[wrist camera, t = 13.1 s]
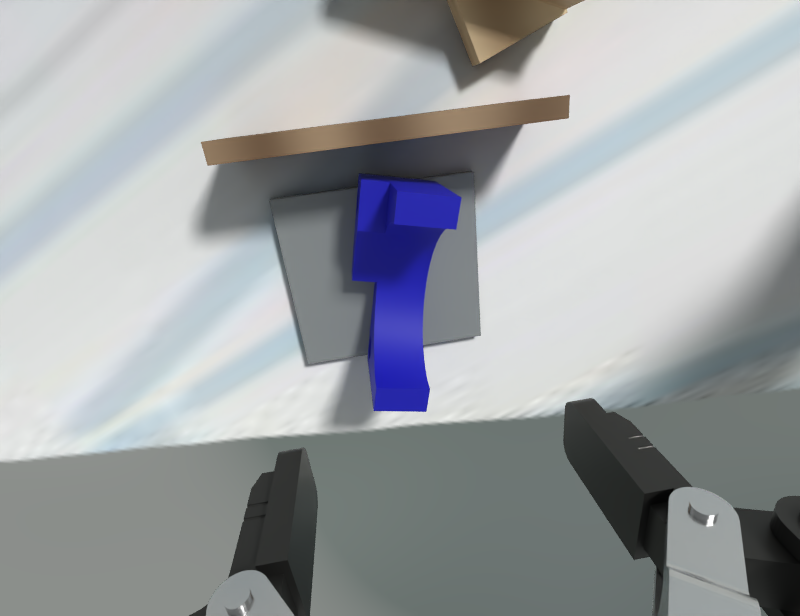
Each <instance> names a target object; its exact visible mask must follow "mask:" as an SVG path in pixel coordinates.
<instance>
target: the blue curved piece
mask: <svg viewBox="0 0 800 616" xmlns="http://www.w3.org/2000/svg"><path fill="white" fill-rule="evenodd" d="M460 204H461V197H460V196H458V195H457V194H455V193H453V192H452V191H450V190H449V189H447V188H445V187H444V186H442V185H441V184H439V183H438V182H436V181H429V180H420V179H410V178H401V177H391V176H382V175H372V174H362V173H359V177H358V191H357V205H356V219H355V232H354V246H353V260H352V281H365V282H375V284H374V294H373V305H372V315H371V326H370V336H369V347H368V366H369V374H370V383H371V391H372V400H373V409H374V411H418V412H426V410H427V404H428V398H429V392H430V388H429V385H428V381H427V376H426V370H425V363H424V352H423V310H424V298H425V290H426V283H427V277H428V271H429V267H430V262H431V259H432V255H433V252H434V249H435V246H436V244H437V242H438V239H439V238H440V236H441V234H442V233H443V232H444V231H445V230H446V229H454V230H456V229H457V222H458V216H459V210H460Z"/></svg>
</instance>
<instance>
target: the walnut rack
mask: <svg viewBox="0 0 800 616" xmlns="http://www.w3.org/2000/svg"><path fill="white" fill-rule="evenodd" d="M569 99H570V95H566V96H557V97H548V98H540V99H531V100H523V101H515V102H507V103H499V104H491V105H484V106H476V107H468V108H460V109H452V110H444V111H436V112H429V113H421V114H413V115H405V116H397V117H389V118H382V119H374V120H366V121H358V122H350V123H342V124H334V125H327V126H319V127H311V128H303V129H295V130H287V131H280V132H272V133H264V134H256V135H248V136H240V137H232V138H225V139H218V140H212V141H205V142H201V144H202V148H203V151H204V154H205V158H206V161H207V165H208V166H209V165H217V164H224V163H232V162H239V161H247V160H255V159H262V158H270V157H277V156H285V155H293V154H300V153H308V152H316V151H323V150H331V149H338V148H346V147H354V146H361V145H369V144H376V143H384V142H392V141H399V140H407V139H414V138H422V137H430V136H437V135H445V134H452V133H460V132H468V131H475V130H483V129H490V128H498V127H506V126H513V125H521V124H528V123H536V122H544V121H551V120H559V119H567V118H569Z"/></svg>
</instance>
